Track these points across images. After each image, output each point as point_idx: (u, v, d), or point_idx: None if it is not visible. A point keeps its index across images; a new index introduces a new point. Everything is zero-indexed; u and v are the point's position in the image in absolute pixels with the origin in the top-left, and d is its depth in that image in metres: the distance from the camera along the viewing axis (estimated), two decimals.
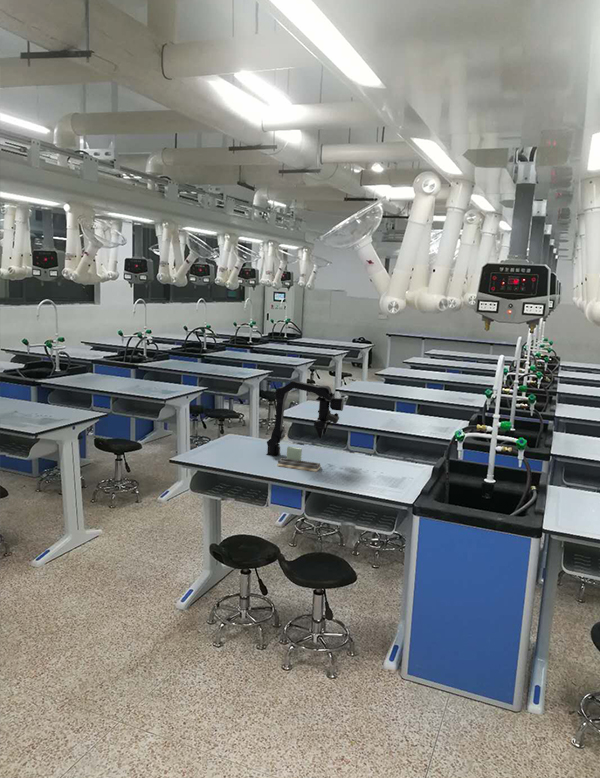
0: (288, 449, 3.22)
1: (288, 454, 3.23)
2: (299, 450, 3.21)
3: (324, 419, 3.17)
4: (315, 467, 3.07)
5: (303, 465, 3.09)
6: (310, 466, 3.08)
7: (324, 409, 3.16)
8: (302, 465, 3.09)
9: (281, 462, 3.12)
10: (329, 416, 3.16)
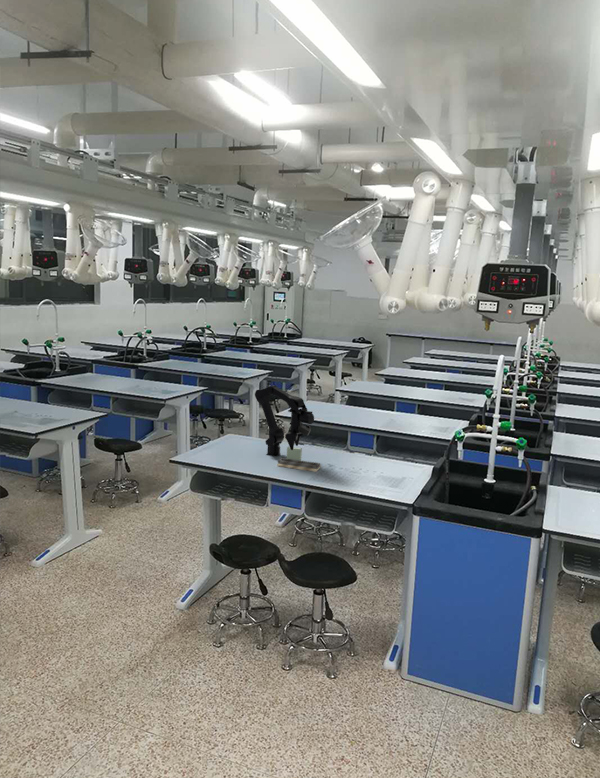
0: (288, 449, 3.22)
1: (288, 454, 3.23)
2: (299, 450, 3.21)
3: (296, 431, 3.18)
4: (315, 467, 3.07)
5: (303, 465, 3.09)
6: (310, 466, 3.08)
7: (294, 421, 3.17)
8: (302, 465, 3.09)
9: (281, 462, 3.12)
10: (301, 428, 3.17)
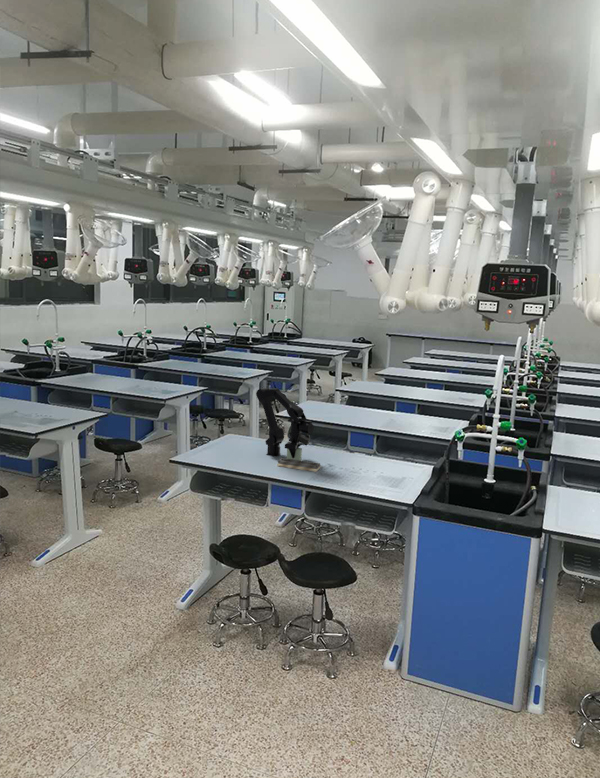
0: (288, 449, 3.22)
1: (288, 454, 3.23)
2: (299, 450, 3.20)
3: (295, 441, 3.19)
4: (315, 467, 3.07)
5: (303, 465, 3.09)
6: (310, 466, 3.08)
7: (293, 431, 3.18)
8: (302, 465, 3.09)
9: (281, 462, 3.12)
10: (300, 438, 3.18)
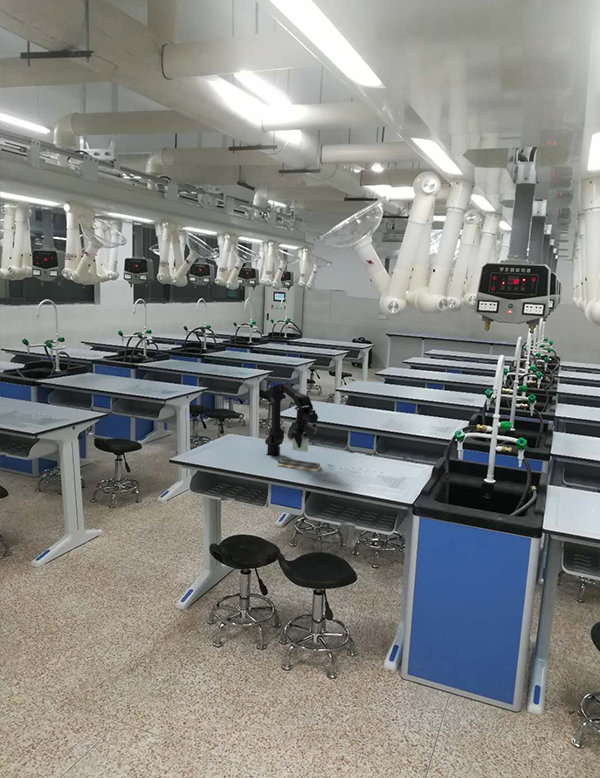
0: (294, 439, 3.10)
1: (294, 444, 3.10)
2: (306, 440, 3.08)
3: (301, 430, 3.06)
4: (315, 467, 3.07)
5: (303, 465, 3.09)
6: (310, 466, 3.08)
7: (298, 419, 3.05)
8: (302, 465, 3.09)
9: (281, 462, 3.12)
10: (307, 427, 3.05)
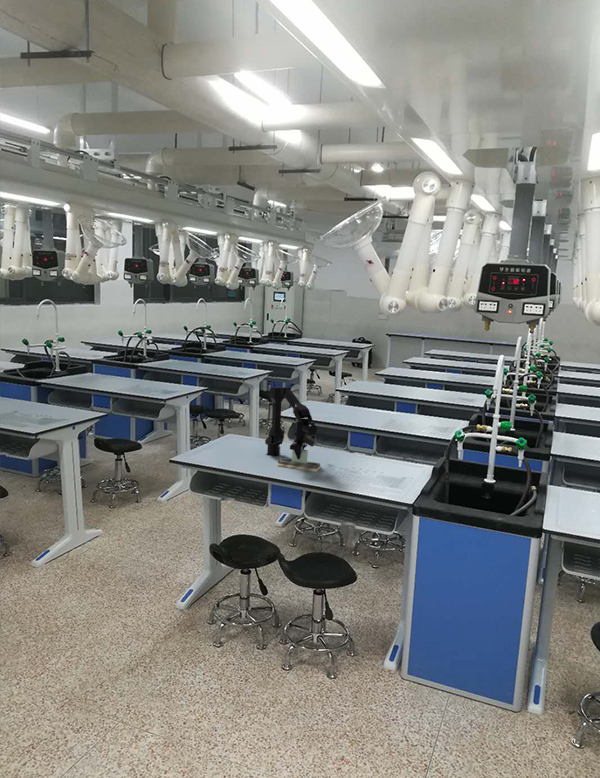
0: (293, 451, 3.11)
1: (293, 456, 3.11)
2: (305, 452, 3.09)
3: (301, 441, 3.07)
4: (315, 467, 3.07)
5: (303, 465, 3.09)
6: (310, 466, 3.08)
7: (297, 431, 3.07)
8: (302, 465, 3.09)
9: (281, 462, 3.12)
10: (306, 438, 3.06)
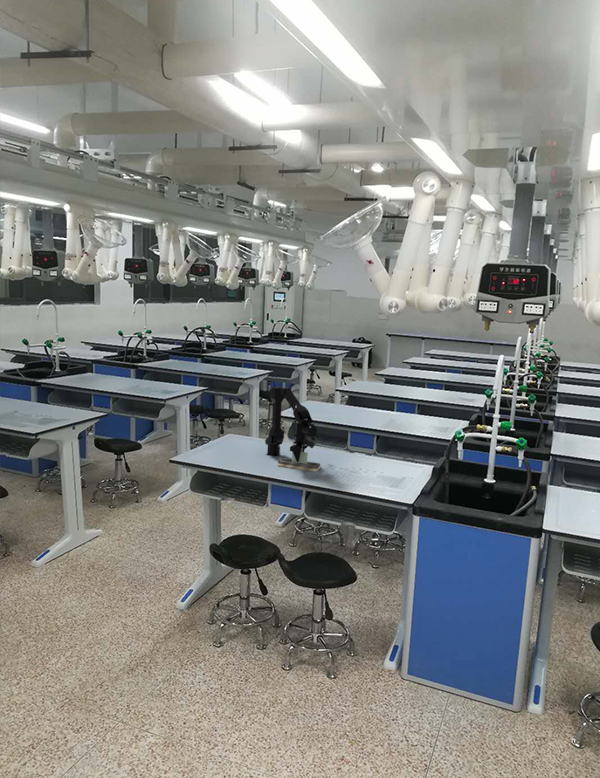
0: None
1: (293, 458, 3.12)
2: (305, 454, 3.09)
3: (301, 443, 3.07)
4: (315, 467, 3.07)
5: (303, 465, 3.09)
6: (310, 466, 3.08)
7: (297, 432, 3.07)
8: (302, 465, 3.09)
9: (281, 462, 3.12)
10: (306, 440, 3.06)
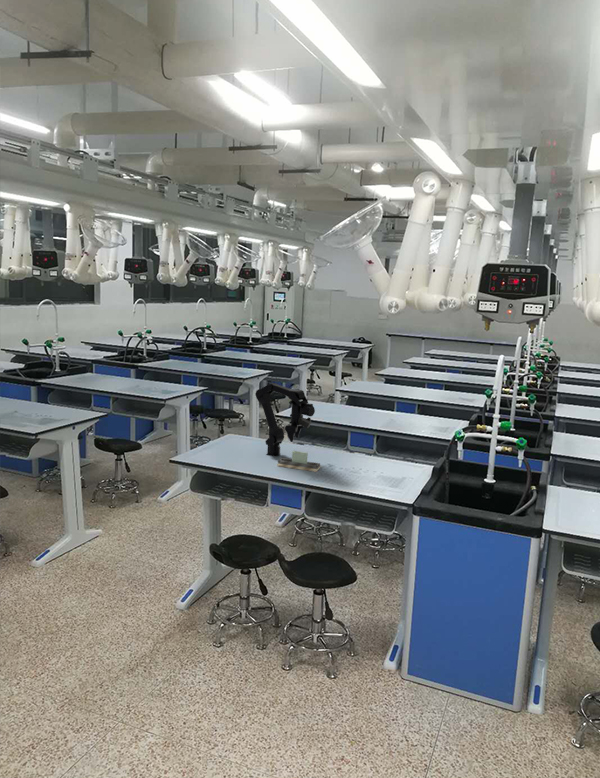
0: (293, 453, 3.11)
1: (293, 458, 3.12)
2: (305, 454, 3.09)
3: (296, 423, 3.17)
4: (315, 467, 3.07)
5: (303, 465, 3.09)
6: (310, 466, 3.08)
7: (294, 413, 3.16)
8: (302, 465, 3.09)
9: (281, 462, 3.12)
10: (301, 420, 3.16)
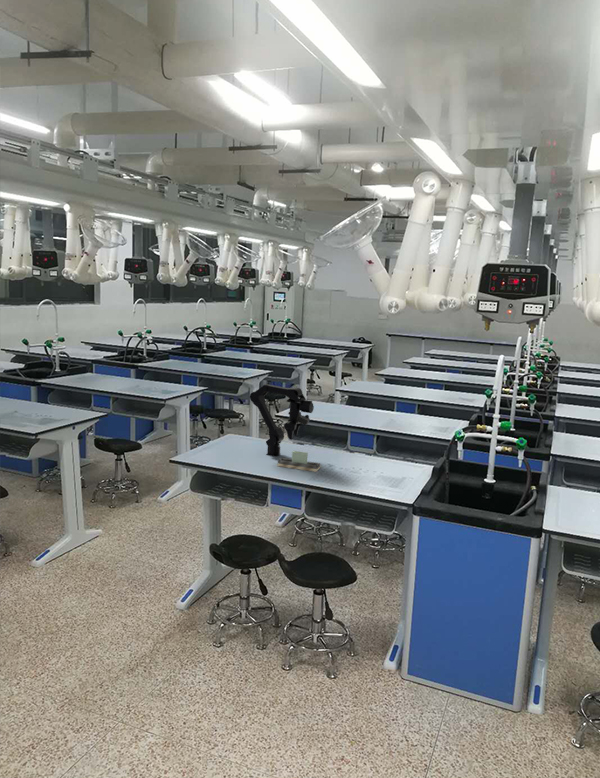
0: (293, 453, 3.11)
1: (293, 458, 3.12)
2: (305, 454, 3.09)
3: (294, 421, 3.20)
4: (315, 467, 3.07)
5: (303, 465, 3.09)
6: (310, 466, 3.08)
7: (293, 411, 3.19)
8: (302, 465, 3.09)
9: (281, 462, 3.12)
10: (299, 418, 3.19)
